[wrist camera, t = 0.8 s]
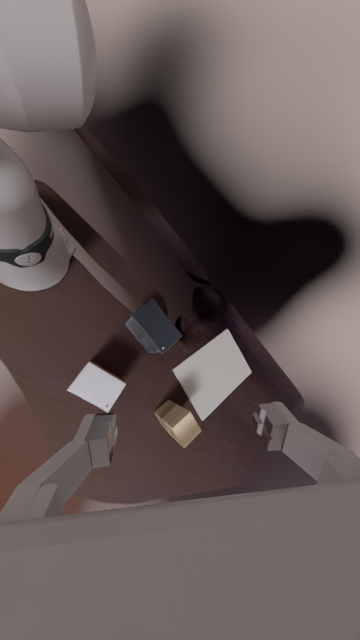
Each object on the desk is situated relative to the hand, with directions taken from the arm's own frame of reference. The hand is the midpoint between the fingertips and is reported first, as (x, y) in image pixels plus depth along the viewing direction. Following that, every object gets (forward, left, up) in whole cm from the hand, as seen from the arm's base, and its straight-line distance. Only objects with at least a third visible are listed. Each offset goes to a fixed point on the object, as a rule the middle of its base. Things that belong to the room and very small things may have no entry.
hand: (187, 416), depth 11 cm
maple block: (+15, +5, -36) cm, 40 cm away
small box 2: (-5, +11, -37) cm, 39 cm away
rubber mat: (+15, +23, -36) cm, 46 cm away
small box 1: (-1, -4, -37) cm, 37 cm away
